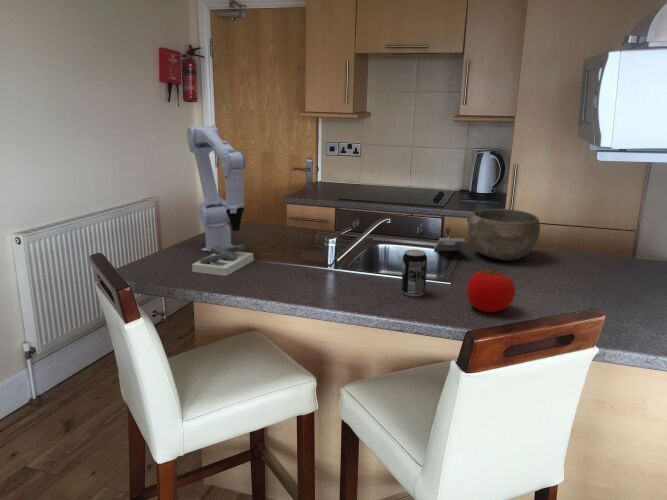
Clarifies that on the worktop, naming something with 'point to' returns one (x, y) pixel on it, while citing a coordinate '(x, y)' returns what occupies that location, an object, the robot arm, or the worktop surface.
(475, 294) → the tomato
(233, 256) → the rocker
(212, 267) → the switch panel
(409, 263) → the beverage can
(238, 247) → the rocker
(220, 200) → the robot arm
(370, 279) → the worktop surface
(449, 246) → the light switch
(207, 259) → the rocker
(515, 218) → the bowl
